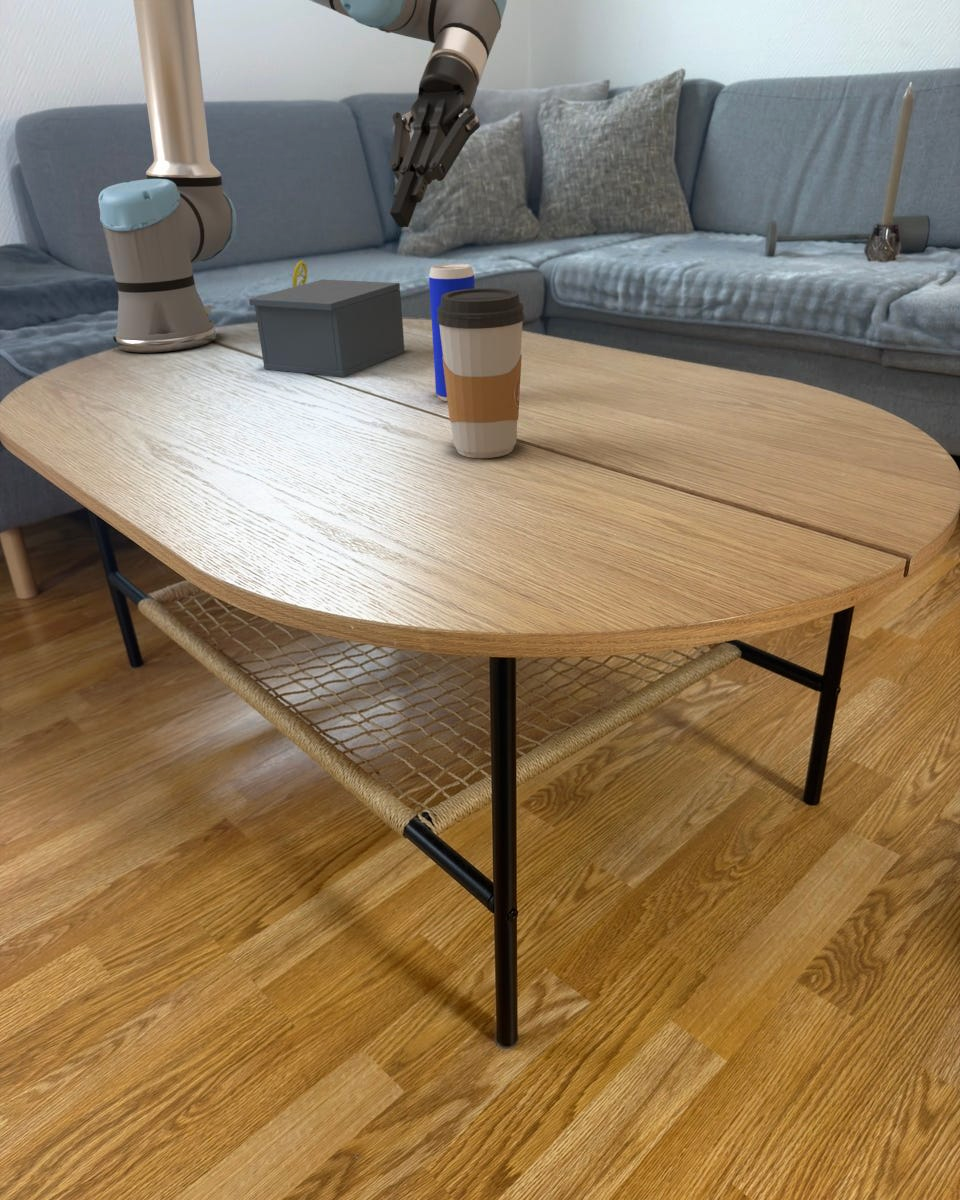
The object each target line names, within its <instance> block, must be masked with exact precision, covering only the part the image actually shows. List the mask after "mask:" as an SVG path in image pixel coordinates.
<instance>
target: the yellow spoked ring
mask: <svg viewBox="0 0 960 1200" xmlns="http://www.w3.org/2000/svg"><path fill="white" fill-rule="evenodd" d="M303 272H304V274H303ZM292 273H293V274H292V287H296V286H300V285H303V284H307V279H308V265H307V263H306V262H305V260H300V261H298V262H297V263H296V264H295V267H294V269H293V272H292ZM299 277H302V278H303V279H301V280H300V281H299V282H298V278H299Z"/></svg>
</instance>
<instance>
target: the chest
mask: <svg viewBox="0 0 960 1200" xmlns="http://www.w3.org/2000/svg"><path fill="white" fill-rule="evenodd" d="M254 310H255V317H256V323H257V331H258V335H259V343H260V350H261V356H262V363H263V368H264V369H263V370H271V371H280V372H287V373H288V372H290V373H299V374H308V375H319V376H327V377H339V378H345V377H348V376H351V375H352V374H355V373H358V372H359V371H362V370H364V369H367V368H369V367H372V366H374V365H376V364H379V363H381V362H383V361H386V360H389V359H391V358H394V357H396V356H398V355H400V354H403V353H405V351H406V350H405V338H404V325H403V312H402V311H403V310H402V298H401V289H399V290H396V291H392V292H389V293H386V294H383V295H379V296H376V297H373V298H370V299H367V300H363V301H360V302H357V303H354V304H351V305H347V306H344V307H341V308H338V309H335V310H317V309H302V308H286V307H271V306H255V305H254Z"/></svg>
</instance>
